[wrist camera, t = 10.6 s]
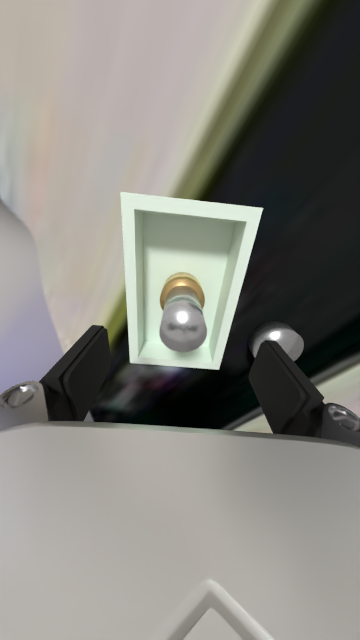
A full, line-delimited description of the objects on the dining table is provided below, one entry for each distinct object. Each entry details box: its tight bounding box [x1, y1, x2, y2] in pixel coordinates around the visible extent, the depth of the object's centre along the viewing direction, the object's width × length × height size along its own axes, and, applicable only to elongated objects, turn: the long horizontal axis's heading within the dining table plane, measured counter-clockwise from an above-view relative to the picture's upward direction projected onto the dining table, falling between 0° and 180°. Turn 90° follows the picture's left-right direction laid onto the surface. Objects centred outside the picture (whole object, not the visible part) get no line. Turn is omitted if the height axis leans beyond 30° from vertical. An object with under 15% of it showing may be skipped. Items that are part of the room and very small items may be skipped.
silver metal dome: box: [248, 321, 304, 361], centre depth 23 cm, size 6×6×2 cm
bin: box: [120, 192, 263, 370], centre depth 19 cm, size 17×11×4 cm, turn 175°
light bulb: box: [159, 272, 207, 352], centre depth 16 cm, size 5×5×9 cm
